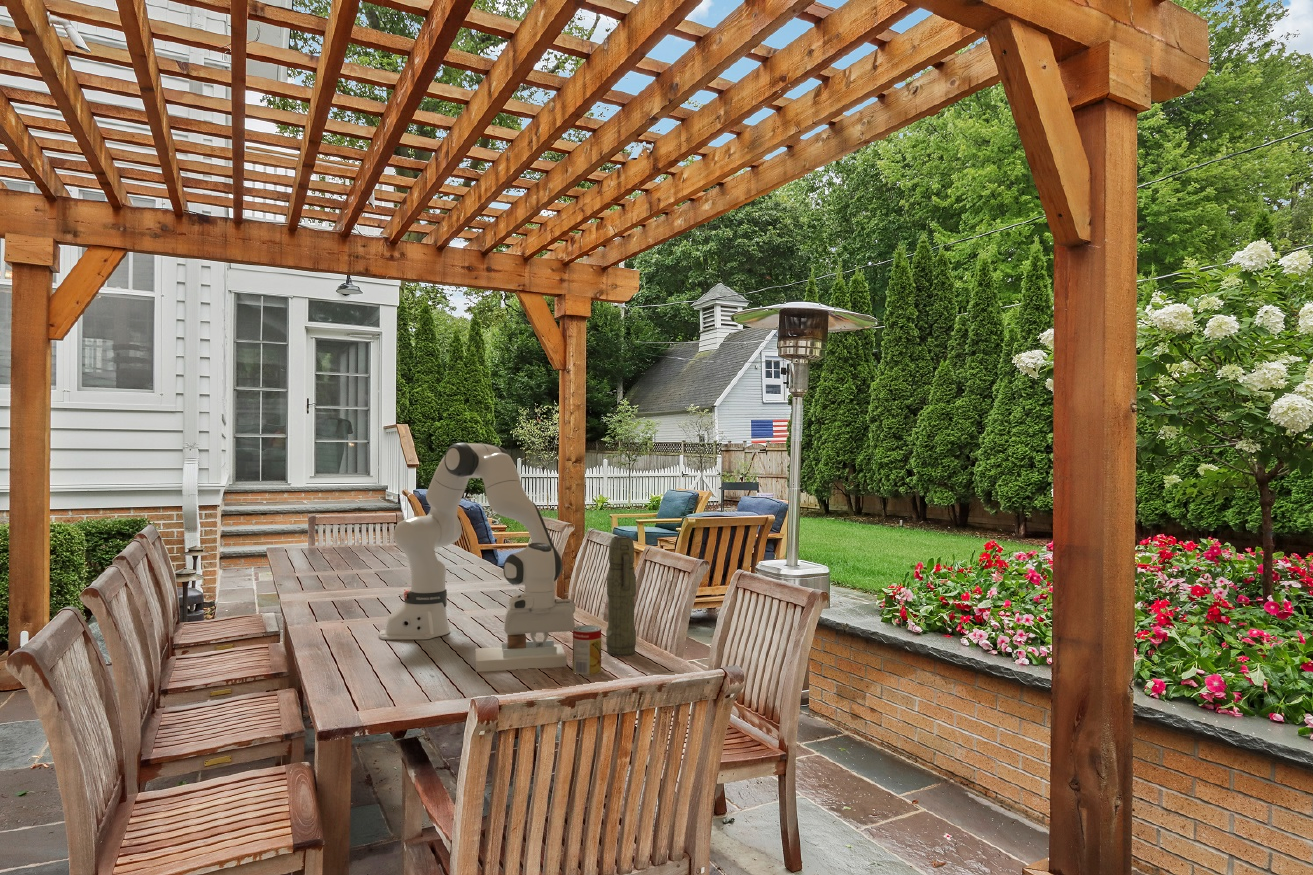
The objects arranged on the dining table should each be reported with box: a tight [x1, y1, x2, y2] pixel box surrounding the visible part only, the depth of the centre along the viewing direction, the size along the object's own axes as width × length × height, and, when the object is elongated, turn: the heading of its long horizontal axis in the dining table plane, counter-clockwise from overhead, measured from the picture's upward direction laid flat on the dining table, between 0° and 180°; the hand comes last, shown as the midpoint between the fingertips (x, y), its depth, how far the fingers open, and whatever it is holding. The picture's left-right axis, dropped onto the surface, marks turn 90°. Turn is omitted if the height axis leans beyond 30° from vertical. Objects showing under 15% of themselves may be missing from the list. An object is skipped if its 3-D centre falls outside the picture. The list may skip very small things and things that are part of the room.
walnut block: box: [506, 633, 527, 649], centre depth 234 cm, size 5×5×5 cm
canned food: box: [572, 624, 602, 676], centre depth 226 cm, size 8×8×12 cm
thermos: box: [605, 535, 637, 657], centre depth 246 cm, size 9×12×35 cm
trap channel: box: [474, 639, 567, 673], centre depth 234 cm, size 25×14×5 cm, turn 103°
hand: (539, 647), depth 236 cm, fingers closed
